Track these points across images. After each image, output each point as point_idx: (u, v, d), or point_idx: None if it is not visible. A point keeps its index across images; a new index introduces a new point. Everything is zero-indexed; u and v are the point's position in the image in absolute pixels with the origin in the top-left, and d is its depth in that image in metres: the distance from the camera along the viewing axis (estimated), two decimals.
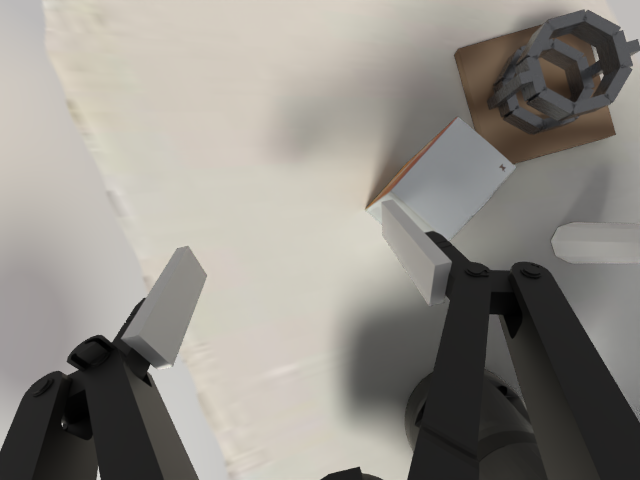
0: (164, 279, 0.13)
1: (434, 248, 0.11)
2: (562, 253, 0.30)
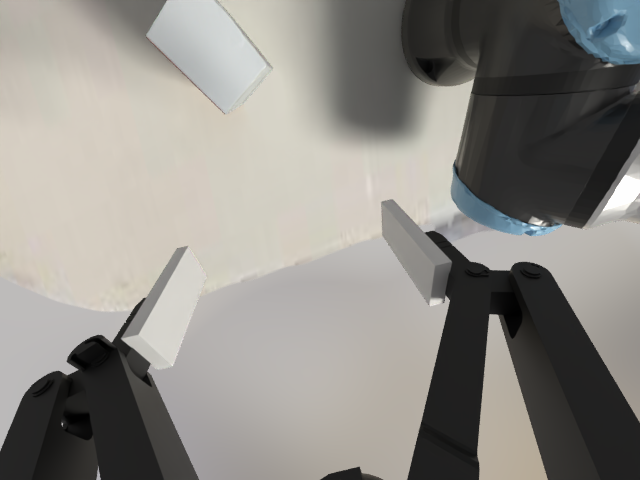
0: (164, 279, 0.13)
1: (434, 248, 0.11)
2: None
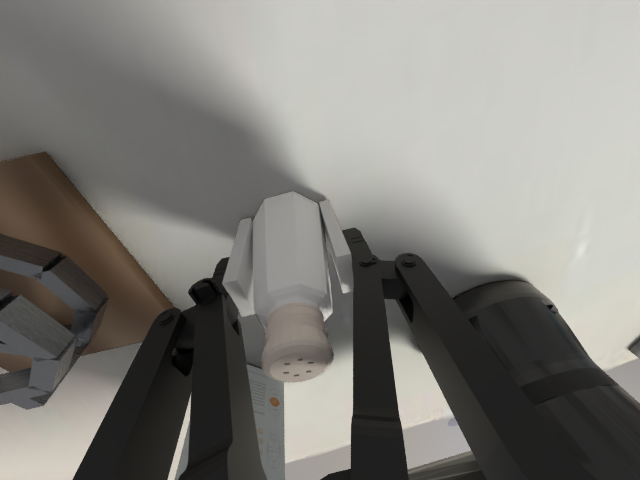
0: (240, 242, 0.14)
1: (342, 242, 0.12)
2: None
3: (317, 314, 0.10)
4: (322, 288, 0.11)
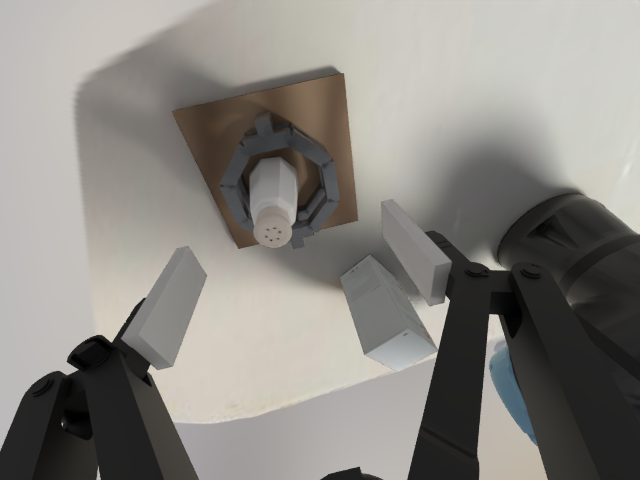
0: (164, 279, 0.13)
1: (434, 248, 0.11)
2: None
3: (286, 214, 0.18)
4: (291, 203, 0.19)
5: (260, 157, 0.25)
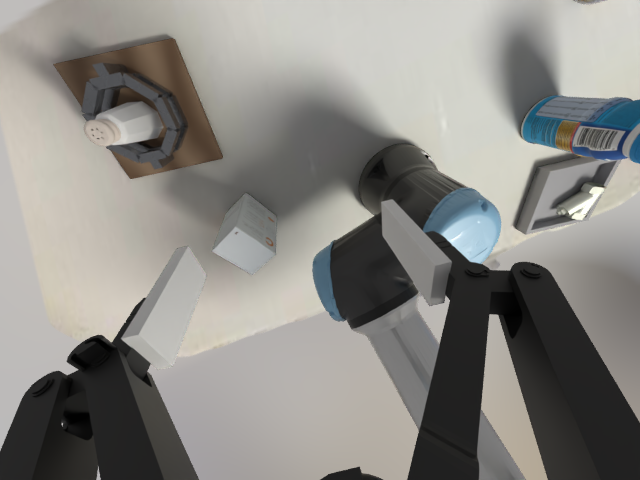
0: (164, 279, 0.13)
1: (434, 248, 0.11)
2: (152, 138, 0.36)
3: (114, 125, 0.28)
4: (121, 120, 0.29)
5: (127, 101, 0.34)
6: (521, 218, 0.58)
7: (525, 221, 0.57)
